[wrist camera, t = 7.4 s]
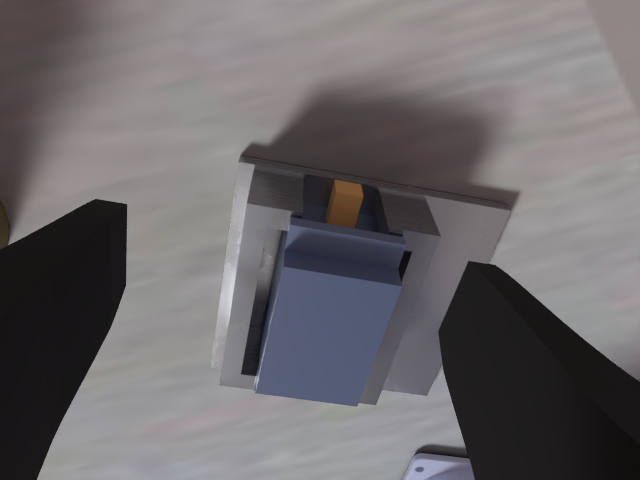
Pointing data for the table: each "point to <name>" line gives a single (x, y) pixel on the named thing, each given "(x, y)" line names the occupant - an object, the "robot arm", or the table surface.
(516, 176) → the table surface
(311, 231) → the blue-grey long block
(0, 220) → the cork
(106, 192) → the table surface
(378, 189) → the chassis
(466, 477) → the robot arm
